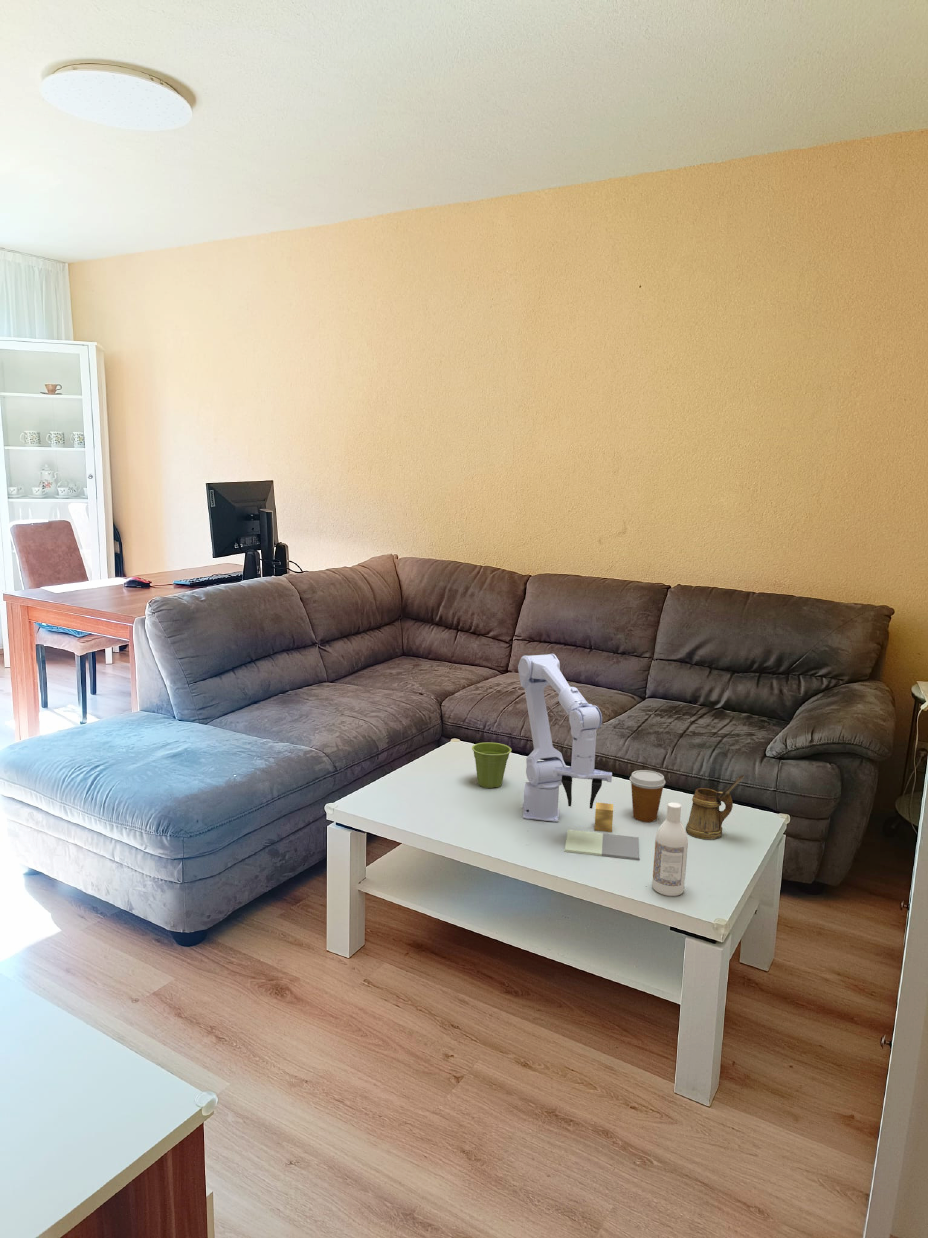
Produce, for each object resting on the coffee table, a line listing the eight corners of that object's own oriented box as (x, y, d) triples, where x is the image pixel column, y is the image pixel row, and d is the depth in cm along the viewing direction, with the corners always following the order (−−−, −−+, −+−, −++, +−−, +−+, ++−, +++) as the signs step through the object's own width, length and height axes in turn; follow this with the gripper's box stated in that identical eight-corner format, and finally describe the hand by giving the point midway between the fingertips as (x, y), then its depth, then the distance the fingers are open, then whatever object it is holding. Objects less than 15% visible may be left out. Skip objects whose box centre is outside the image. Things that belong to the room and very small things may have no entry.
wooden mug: (732, 848, 202) (739, 780, 199) (680, 833, 210) (686, 767, 207) (743, 836, 209) (749, 770, 206) (692, 822, 217) (697, 759, 214)
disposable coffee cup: (663, 826, 214) (666, 783, 212) (627, 822, 216) (629, 779, 214) (661, 812, 223) (665, 771, 221) (627, 809, 225) (629, 768, 223)
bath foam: (660, 878, 185) (666, 796, 181) (689, 889, 180) (695, 804, 177) (646, 889, 179) (652, 804, 176) (675, 900, 175) (682, 813, 172)
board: (564, 851, 197) (564, 849, 197) (567, 831, 208) (567, 829, 208) (639, 860, 194) (639, 858, 193) (638, 839, 205) (638, 837, 205)
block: (594, 830, 210) (595, 808, 209) (594, 823, 214) (596, 802, 213) (611, 832, 209) (613, 810, 208) (611, 825, 213) (613, 804, 212)
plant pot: (510, 792, 234) (512, 755, 233) (470, 791, 234) (471, 754, 233) (509, 778, 246) (510, 742, 244) (470, 776, 246) (471, 741, 244)
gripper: (552, 756, 197) (550, 809, 199) (612, 762, 194) (609, 815, 196) (555, 747, 204) (552, 798, 206) (613, 752, 201) (609, 804, 203)
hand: (580, 806), depth 202 cm, fingers open, 5 cm apart
